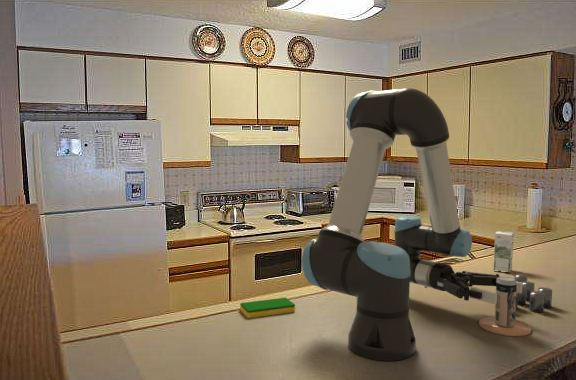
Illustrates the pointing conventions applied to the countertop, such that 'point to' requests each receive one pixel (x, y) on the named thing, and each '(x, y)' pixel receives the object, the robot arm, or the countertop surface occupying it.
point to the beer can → (505, 301)
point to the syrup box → (503, 251)
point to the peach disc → (516, 330)
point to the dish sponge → (267, 307)
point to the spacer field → (533, 295)
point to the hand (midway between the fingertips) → (509, 293)
